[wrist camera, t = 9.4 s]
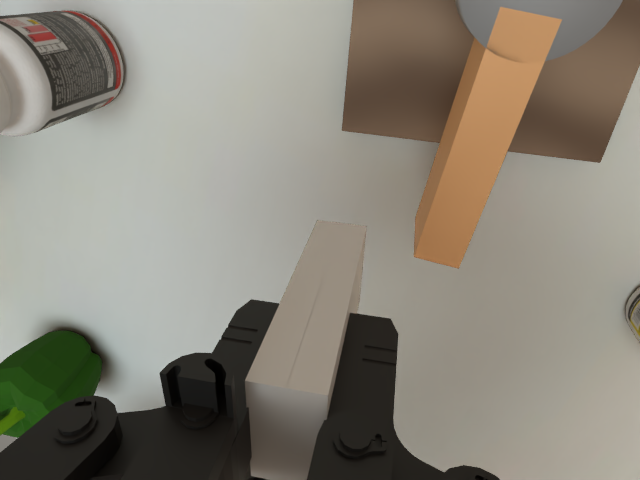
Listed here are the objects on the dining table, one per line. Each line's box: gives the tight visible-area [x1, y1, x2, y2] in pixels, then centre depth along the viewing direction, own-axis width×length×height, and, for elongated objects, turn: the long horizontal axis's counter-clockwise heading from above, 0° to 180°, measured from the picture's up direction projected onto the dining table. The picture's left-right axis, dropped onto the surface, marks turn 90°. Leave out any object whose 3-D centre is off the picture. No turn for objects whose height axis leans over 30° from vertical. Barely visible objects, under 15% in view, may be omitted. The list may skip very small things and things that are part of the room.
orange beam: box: [414, 0, 623, 269], centre depth 18 cm, size 14×5×4 cm, turn 170°
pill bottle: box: [0, 11, 124, 136], centre depth 24 cm, size 6×6×10 cm
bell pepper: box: [0, 330, 102, 438], centre depth 39 cm, size 8×8×10 cm
